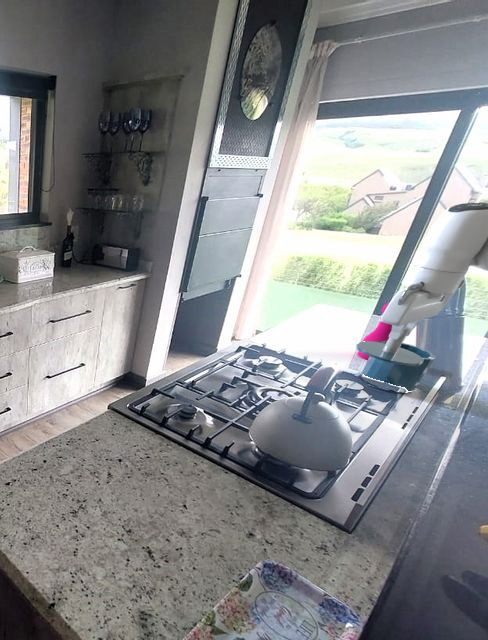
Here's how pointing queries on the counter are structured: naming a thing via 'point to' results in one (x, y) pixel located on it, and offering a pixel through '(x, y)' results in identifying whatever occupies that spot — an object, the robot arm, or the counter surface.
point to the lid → (391, 351)
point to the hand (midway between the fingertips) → (398, 337)
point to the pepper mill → (378, 333)
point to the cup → (399, 369)
